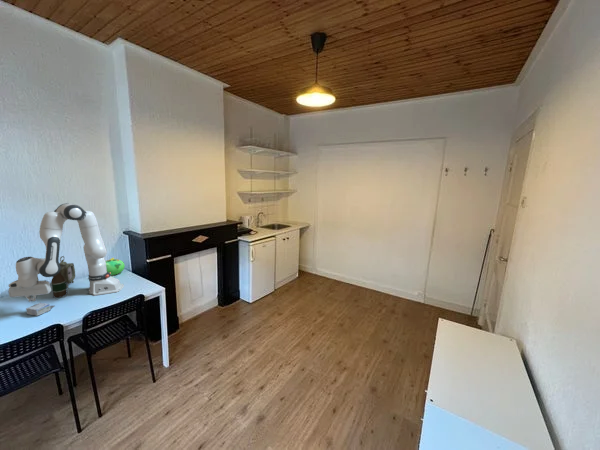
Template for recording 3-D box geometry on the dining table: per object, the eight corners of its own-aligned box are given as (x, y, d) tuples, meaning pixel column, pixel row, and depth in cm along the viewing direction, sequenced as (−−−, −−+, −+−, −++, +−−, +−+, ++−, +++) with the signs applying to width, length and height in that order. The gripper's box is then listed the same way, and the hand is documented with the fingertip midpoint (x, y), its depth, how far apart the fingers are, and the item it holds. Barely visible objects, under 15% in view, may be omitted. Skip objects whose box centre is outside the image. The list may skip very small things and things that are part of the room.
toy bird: (126, 269, 243) (124, 255, 240) (124, 276, 228) (122, 260, 225) (102, 272, 234) (100, 257, 231) (99, 279, 219) (97, 263, 216)
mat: (55, 305, 177) (55, 305, 177) (47, 312, 168) (47, 312, 168) (40, 307, 174) (40, 306, 174) (31, 314, 166) (31, 313, 166)
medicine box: (26, 314, 165) (37, 316, 164) (25, 308, 164) (36, 310, 163) (41, 308, 173) (51, 310, 171) (40, 302, 172) (50, 304, 170)
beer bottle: (55, 298, 186) (50, 268, 181) (52, 295, 190) (46, 265, 185) (69, 294, 192) (64, 264, 187) (65, 292, 196) (60, 262, 191)
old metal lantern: (69, 288, 201) (64, 259, 196) (54, 290, 198) (49, 260, 193) (76, 281, 214) (72, 253, 209) (62, 282, 211) (58, 254, 206)
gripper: (51, 278, 172) (54, 296, 175) (12, 281, 165) (16, 300, 168) (45, 282, 166) (49, 301, 169) (4, 285, 160) (9, 305, 162)
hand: (32, 301), depth 168 cm, fingers closed
